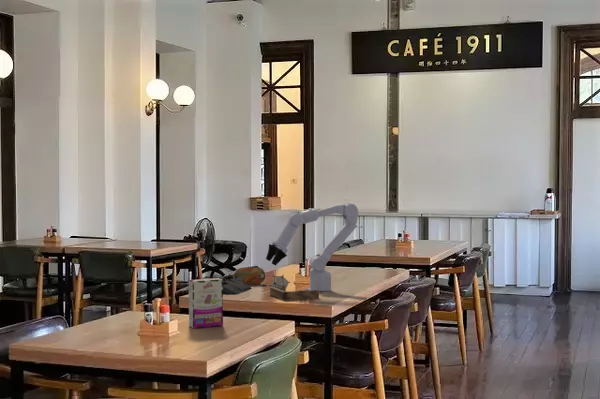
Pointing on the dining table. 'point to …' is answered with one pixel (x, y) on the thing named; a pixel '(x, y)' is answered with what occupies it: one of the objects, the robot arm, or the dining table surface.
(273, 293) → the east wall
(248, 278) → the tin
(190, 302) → the candy bar box
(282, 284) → the game die
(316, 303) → the dining table surface
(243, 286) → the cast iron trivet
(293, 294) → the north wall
